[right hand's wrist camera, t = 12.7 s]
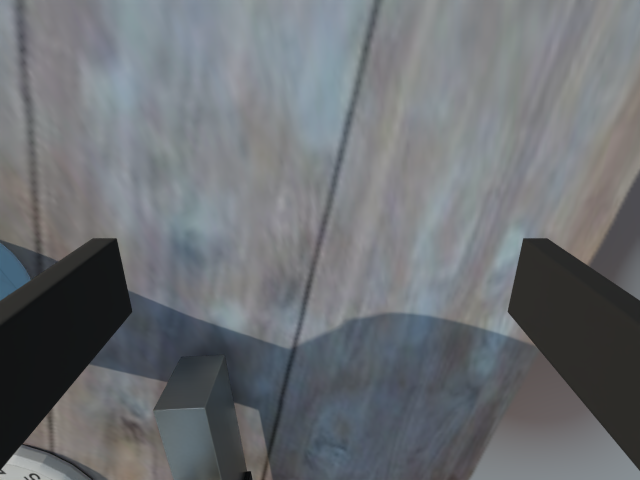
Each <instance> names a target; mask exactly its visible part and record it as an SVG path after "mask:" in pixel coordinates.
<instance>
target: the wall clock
mask: <svg viewBox="0 0 640 480" xmlns="http://www.w3.org/2000/svg"><path fill="white" fill-rule="evenodd" d="M0 480H92V479H90V478H89V477H88V476H86V475H85V474H84V473H82V472H81V471H80V470H79V469H77V468H76V467H75V466H73V465H72V464H70V463H68V462H66V461H64V460H62V459H60V458H58V457H56V456H54V455H52V454H50V453H47V452H44V451H41V450H37V449H34V448H31V447H28V446H24V445H21V446H20V447H19V449H18V450H17V451H16V452H15V453H14V455H13V456H12V457H11V458H10V459H9V461H8V462H7V463H6V464H5V466H4V467H3V468H2V469H1V470H0Z"/></svg>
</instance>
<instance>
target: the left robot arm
mask: <svg viewBox="0 0 640 480" xmlns="http://www.w3.org/2000/svg"><path fill="white" fill-rule="evenodd" d="M30 280H31V279H30V276H29V275H28V273H27V271H26V269H25V268H24V266H23V265H22V264H21V262H20V261H19V260H18V259H17V258H16V256H15V255H14V254H13V253H12V252H11V251H10V250H9V249H7V248H6V247H5V246H4V245H3V244H1V243H0V301H1V300H2V299H3V298H5V297H6V296H8V295H9V294H11V293H12V292H14V291H15V290H17V289H18V288H20V287H21V286H23V285H24V284H26V283H27V282H29V281H30ZM244 480H252V475H251V471H247V472H246V473H245V478H244Z"/></svg>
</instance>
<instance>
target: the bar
mask: <svg viewBox="0 0 640 480" xmlns="http://www.w3.org/2000/svg"><path fill="white" fill-rule="evenodd" d="M153 412H154V415H155V419H156V422H157V425H158V429H159V432H160V436H161V439H162V442H163V446H164V449H165V452H166V456H167V459H168V463H169V466H170V469H171V473H172V476H173V480H244V478H245V473H246V472H247V469H246V464H245V458H244V453H243V448H242V443H241V438H240V432H239V427H238V422H237V417H236V412H235V406H234V401H233V396H232V391H231V386H230V380H229V375H228V370H227V365H226V360H225V355H208V356H189V357H181V359H180V360H179V362H178V364H177V366H176V368H175V370H174V372H173V374H172V376H171V378H170V379H169V381H168V383H167V385H166V387H165V389H164V391H163V393H162V395H161V397H160V398H159V400H158V402H157V404H156V406H155V408H154V410H153Z"/></svg>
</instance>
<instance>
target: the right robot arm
mask: <svg viewBox="0 0 640 480" xmlns="http://www.w3.org/2000/svg"><path fill="white" fill-rule="evenodd" d="M131 313H132V308H131V303H130V299H129V294H128V289H127V285H126V280H125V275H124V271H123V266H122V261H121V257H120V252H119V247H118V243H117V238H93V239H91V240H90V241H88V242H87V243H85V244H84V245H82V246H81V247H79V248H78V249H76V250H75V251H73V252H72V253H70V254H69V255H68V256H66V257H65V258H63V259H62V260H60V261H59V262H57V263H56V264H54V265H53V266H51V267H50V268H48V269H47V270H45V271H44V272H42V273H41V274H39V275H38V276H36V277H35V278H33V279H32V280H30V281H29V282H27V283H26V284H24V285H23V286H21V287H20V288H18V289H17V290H15V291H14V292H12V293H11V294H9V295H8V296H6V297H5V298H3V299H2V300H1V301H0V470H1V469H2V468H3V467H4V466H5V464H6V463H7V462H8V461H9V459H10V458H11V457H12V456H13V455H14V453H15V452H16V451H17V450H18V449H19V447H20V446H21V445H22V444H23V443H24V441H25V440H26V439H27V438H28V437H29V435H30V434H31V433H32V432H33V431H34V429H35V428H36V427H37V426H38V425H39V423H40V422H41V421H42V420H43V419H44V417H45V416H46V415H47V414H48V413H49V411H50V410H51V409H52V408H53V407H54V405H55V404H56V403H57V402H58V401H59V399H60V398H61V397H62V396H63V395H64V393H65V392H66V391H67V390H68V388H69V387H70V386H71V385H72V384H73V382H74V381H75V380H76V379H77V378H78V376H79V375H80V374H81V373H82V372H83V370H84V369H85V368H86V367H87V366H88V364H89V363H90V362H91V361H92V360H93V358H94V357H95V356H96V355H97V354H98V352H99V351H100V350H101V349H102V348H103V346H104V345H105V344H106V343H107V342H108V340H109V339H110V338H111V337H112V336H113V334H114V333H115V332H116V331H117V330H118V328H119V327H120V326H121V325H122V324H123V322H124V321H125V320H126V319H127V318H128V316H129V315H130V314H131ZM508 313H509V314H510V315H511V316H512V318H513V319H514V320H515V321H516V322H517V324H518V325H519V326H520V327H521V328H522V330H523V331H524V332H525V333H526V334H527V336H528V337H529V338H530V339H531V340H532V342H533V343H534V344H535V345H536V346H537V348H538V349H539V350H540V351H541V352H542V354H543V355H544V356H545V357H546V358H547V360H548V361H549V362H550V363H551V364H552V366H553V367H554V368H555V369H556V370H557V372H558V373H559V374H560V375H561V376H562V378H563V379H564V380H565V381H566V382H567V384H568V385H569V386H570V387H571V388H572V390H573V391H574V392H575V393H576V394H577V396H578V397H579V398H580V399H581V401H582V402H583V403H584V404H585V405H586V407H587V408H588V409H589V410H590V411H591V413H592V414H593V415H594V416H595V417H596V419H597V420H598V421H599V422H600V423H601V425H602V426H603V427H604V428H605V429H606V431H607V432H608V433H609V434H610V435H611V437H612V438H613V439H614V440H615V441H616V443H617V444H618V445H619V446H620V447H621V449H622V450H623V451H624V452H625V453H626V455H627V456H628V457H629V458H630V459H631V461H632V462H633V463H634V464H635V466H636V467H637V468H638V469H639V470H640V301H639V300H638V299H636V298H635V297H634V296H632V295H631V294H629V293H628V292H626V291H625V290H623V289H622V288H620V287H619V286H617V285H616V284H614V283H613V282H611V281H610V280H608V279H607V278H605V277H604V276H602V275H601V274H599V273H598V272H596V271H595V270H593V269H592V268H590V267H589V266H587V265H586V264H584V263H583V262H581V261H580V260H578V259H577V258H575V257H574V256H572V255H571V254H570V253H568V252H567V251H565V250H564V249H562V248H561V247H559V246H558V245H556V244H555V243H553V242H552V241H550V240H549V239H547V238H523V243H522V247H521V252H520V257H519V261H518V266H517V271H516V275H515V280H514V285H513V289H512V294H511V299H510V303H509V308H508Z"/></svg>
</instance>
